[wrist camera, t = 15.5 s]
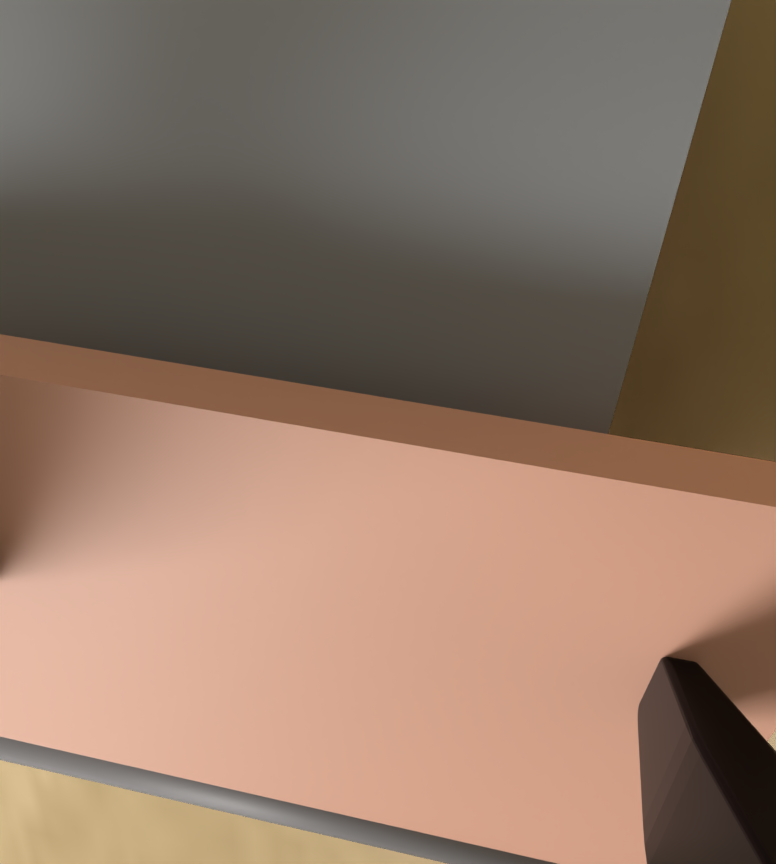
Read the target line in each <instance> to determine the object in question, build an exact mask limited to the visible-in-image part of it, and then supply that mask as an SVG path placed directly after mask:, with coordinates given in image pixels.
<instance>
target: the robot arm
mask: <svg viewBox="0 0 776 864" xmlns="http://www.w3.org/2000/svg"><path fill="white" fill-rule="evenodd" d="M638 740H639V759H640V779H641V798H642V817H643V833H644V846H645V854H646V861H647V864H776V751H775V750H774V748H773V747H772V746H771V745H770V744H769V743H768V742H767V741H766V739H765V738H764V737H763V736H762V735H761V734H760V733H759V731H758V730H757V729H756V728H755V727H754V726H753V725H752V724H751V722H750V721H749V720H748V719H747V718H746V717H745V716H744V714H743V713H742V712H741V711H740V710H739V709H738V708H737V707H736V705H735V704H734V703H733V702H732V701H731V700H730V699H729V698H728V696H727V695H726V694H725V693H724V692H723V691H722V690H721V688H720V687H719V686H718V685H717V684H716V683H715V682H714V681H713V679H712V678H711V677H710V676H709V675H708V674H707V673H706V671H705V670H704V669H703V668H702V667H701V666H700V665H699V664H698V663H697V662H694V661H688V660H683V659H678V658H672V657H663V658H661V660H660V661H659V663H658V665H657V668H656V670H655V672H654V674H653V676H652V678H651V680H650V682H649V684H648V686H647V689H646V691H645V693H644V695H643V697H642V699H641V701H640V703H639V706H638Z"/></svg>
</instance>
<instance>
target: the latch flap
mask: <svg viewBox="0 0 776 864" xmlns="http://www.w3.org/2000/svg"><path fill="white" fill-rule="evenodd" d="M663 657H672V658H678V659H683V660H688V661H694V662H697V663H698V664H699V665H700V666H701V667H702V668H703V669H704V670H705V671H706V673H707V674H708V675H709V676H710V677H711V678H712V679H713V681H714V682H715V683H716V684H717V685H718V686H719V687H720V688H721V690H722V691H723V692H724V693H725V694H726V695H727V696H728V698H729V699H730V700H731V701H732V702H733V703H734V704H735V705H736V707H737V708H738V709H739V710H740V711H741V712H742V713H743V714H744V716H745V717H746V718H747V719H748V720H749V721H750V722H751V724H752V725H753V726H754V727H755V728H756V729H757V730H758V731H759V733H760V734H761V735H762V736H763V737H764V738H765V739H766V741H768V740H769V738H770V737H771V735H772V734H773V733H774V731H775V730H776V462H774V461H768V460H762V459H756V458H750V457H744V456H738V455H732V454H725V453H719V452H713V451H707V450H701V449H695V448H689V447H683V446H677V445H671V444H665V443H659V442H653V441H646V440H640V439H634V438H628V437H622V436H616V435H610V434H604V433H598V432H592V431H586V430H580V429H574V428H567V427H561V426H555V425H549V424H543V423H537V422H531V421H525V420H519V419H513V418H507V417H501V416H495V415H488V414H482V413H476V412H470V411H464V410H458V409H452V408H446V407H440V406H434V405H428V404H422V403H416V402H409V401H403V400H397V399H391V398H385V397H379V396H373V395H367V394H361V393H355V392H349V391H343V390H337V389H330V388H324V387H318V386H312V385H306V384H300V383H294V382H288V381H282V380H276V379H270V378H264V377H258V376H251V375H245V374H239V373H233V372H227V371H221V370H215V369H209V368H203V367H197V366H191V365H185V364H179V363H172V362H166V361H160V360H154V359H148V358H142V357H136V356H130V355H124V354H118V353H112V352H106V351H100V350H93V349H87V348H81V347H75V346H69V345H63V344H57V343H51V342H45V341H39V340H33V339H27V338H21V337H15V336H8V335H2V334H0V760H3V761H7V762H11V763H16V764H20V765H24V766H29V767H33V768H37V769H42V770H46V771H50V772H55V773H59V774H63V775H67V776H72V777H76V778H80V779H85V780H89V781H93V782H98V783H102V784H106V785H111V786H115V787H119V788H124V789H128V790H132V791H137V792H141V793H145V794H150V795H154V796H158V797H162V798H167V799H171V800H175V801H180V802H184V803H188V804H193V805H197V806H201V807H206V808H210V809H214V810H219V811H223V812H227V813H232V814H236V815H240V816H245V817H249V818H253V819H257V820H262V821H266V822H270V823H275V824H279V825H283V826H288V827H292V828H296V829H301V830H305V831H309V832H314V833H318V834H322V835H327V836H331V837H335V838H340V839H344V840H348V841H352V842H357V843H361V844H365V845H370V846H374V847H378V848H383V849H387V850H391V851H396V852H400V853H404V854H409V855H413V856H417V857H422V858H426V859H430V860H435V861H439V862H443V863H447V864H647V861H646V854H645V846H644V833H643V817H642V798H641V779H640V759H639V740H638V706H639V703H640V701H641V699H642V697H643V695H644V693H645V691H646V689H647V686H648V684H649V682H650V680H651V678H652V676H653V674H654V672H655V670H656V668H657V665H658V663H659V661H660V660H661V658H663Z"/></svg>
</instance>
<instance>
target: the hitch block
mask: <svg viewBox="0 0 776 864" xmlns="http://www.w3.org/2000/svg"><path fill="white" fill-rule="evenodd" d="M730 3H731V0H0V334H2V335H8V336H15V337H21V338H27V339H33V340H39V341H45V342H51V343H57V344H63V345H69V346H75V347H81V348H87V349H93V350H100V351H106V352H112V353H118V354H124V355H130V356H136V357H142V358H148V359H154V360H160V361H166V362H172V363H179V364H185V365H191V366H197V367H203V368H209V369H215V370H221V371H227V372H233V373H239V374H245V375H251V376H258V377H264V378H270V379H276V380H282V381H288V382H294V383H300V384H306V385H312V386H318V387H324V388H330V389H337V390H343V391H349V392H355V393H361V394H367V395H373V396H379V397H385V398H391V399H397V400H403V401H409V402H416V403H422V404H428V405H434V406H440V407H446V408H452V409H458V410H464V411H470V412H476V413H482V414H488V415H495V416H501V417H507V418H513V419H519V420H525V421H531V422H537V423H543V424H549V425H555V426H561V427H567V428H574V429H580V430H586V431H592V432H598V433H604V434H608V433H609V430H610V426H611V423H612V419H613V416H614V412H615V409H616V405H617V402H618V398H619V395H620V391H621V388H622V384H623V380H624V377H625V373H626V370H627V366H628V363H629V359H630V356H631V352H632V349H633V345H634V342H635V338H636V335H637V331H638V328H639V324H640V321H641V317H642V313H643V310H644V306H645V303H646V299H647V296H648V292H649V289H650V285H651V282H652V278H653V275H654V271H655V268H656V264H657V261H658V257H659V254H660V250H661V246H662V243H663V239H664V236H665V232H666V229H667V225H668V222H669V218H670V215H671V211H672V208H673V204H674V201H675V197H676V194H677V190H678V186H679V183H680V179H681V176H682V172H683V169H684V165H685V162H686V158H687V155H688V151H689V148H690V144H691V141H692V137H693V134H694V130H695V127H696V123H697V119H698V116H699V112H700V109H701V105H702V102H703V98H704V95H705V91H706V88H707V84H708V81H709V77H710V74H711V70H712V67H713V63H714V60H715V56H716V52H717V49H718V45H719V42H720V38H721V35H722V31H723V28H724V24H725V21H726V17H727V14H728V10H729V7H730Z"/></svg>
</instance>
